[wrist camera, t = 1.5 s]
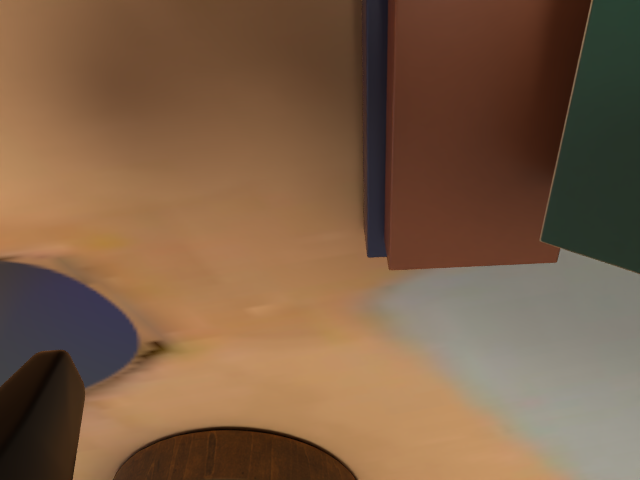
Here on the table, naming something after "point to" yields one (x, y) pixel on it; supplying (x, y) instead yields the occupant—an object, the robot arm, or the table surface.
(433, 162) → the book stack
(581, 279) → the table surface
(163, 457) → the wooden container
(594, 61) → the tea box
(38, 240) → the table surface
